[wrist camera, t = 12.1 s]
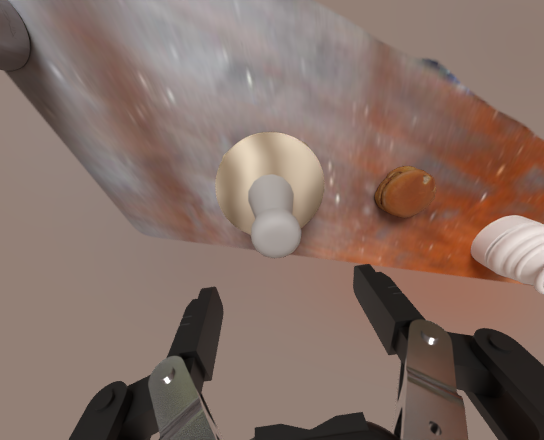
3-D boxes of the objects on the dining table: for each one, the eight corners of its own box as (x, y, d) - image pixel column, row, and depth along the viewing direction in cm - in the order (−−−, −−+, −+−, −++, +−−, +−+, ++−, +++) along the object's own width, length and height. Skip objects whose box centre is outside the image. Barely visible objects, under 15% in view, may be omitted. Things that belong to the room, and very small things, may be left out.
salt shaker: (296, 177, 27) (325, 220, 16) (282, 214, 30) (298, 275, 18) (254, 164, 26) (251, 199, 14) (244, 204, 28) (233, 262, 17)
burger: (368, 210, 41) (381, 220, 37) (382, 164, 37) (398, 169, 33) (413, 212, 42) (430, 221, 38) (431, 167, 38) (452, 172, 34)
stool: (236, 217, 40) (229, 244, 31) (216, 136, 34) (201, 142, 25) (310, 205, 40) (325, 230, 31) (305, 122, 33) (322, 123, 24)
